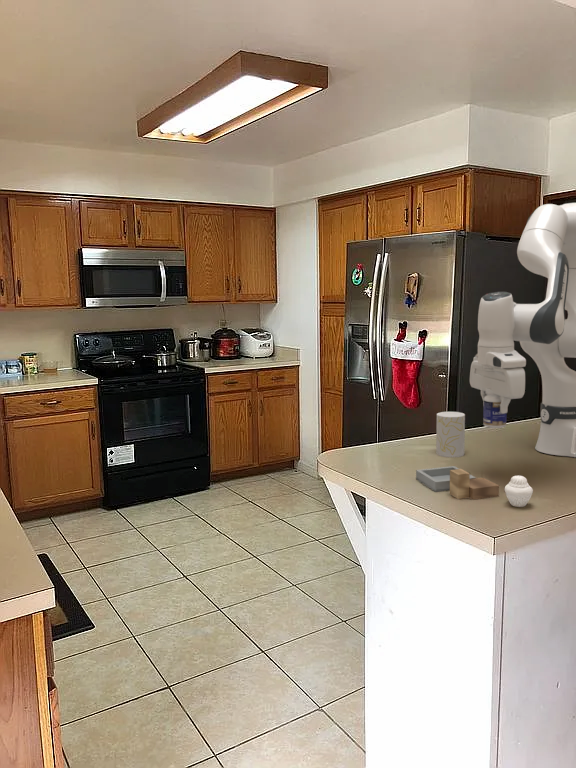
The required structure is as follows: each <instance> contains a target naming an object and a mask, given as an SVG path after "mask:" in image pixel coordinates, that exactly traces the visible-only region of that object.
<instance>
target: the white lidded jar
mask: <svg viewBox="0 0 576 768" xmlns="http://www.w3.org/2000/svg"><path fill="white" fill-rule="evenodd" d="M504 492H505V496H506V498H507V499H508V502H509V504H510V505H511V506H512V507H516V508H517V507H518V508H523V507H526V506H527V504H528V502H529V501H530V499H531V497H532V495H533V492H534V489H533V487H531V486H530V485H529V483H528V479H527V478H526V477H525V476H523V475H520V474H519V475H514V476H512V477H511V478H510V481H509V482H508V483H507V484H506V485H505V487H504Z"/></svg>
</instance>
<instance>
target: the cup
mask: <svg viewBox="0 0 576 768" xmlns="http://www.w3.org/2000/svg"><path fill="white" fill-rule="evenodd" d="M465 423H466V414H465V413H463V412H460V411H441V412H438V413H436V439H435V440H436V445H435V446H436V449H435V450H436V452H435V453H436V455H437V456H439V457H443V458H460V457H463V456H465V444H466V443H465V437H466V436H465V435H466V431H465V427H466V424H465Z"/></svg>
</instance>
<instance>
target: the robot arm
mask: <svg viewBox="0 0 576 768" xmlns="http://www.w3.org/2000/svg"><path fill="white" fill-rule="evenodd" d="M516 254H517V260H518V261H519V262H520V264H521V265H522V267H524V268H525V269H526V270H527V271H529V272H531V273H533V274H536V275H539V276H541V277H545V278H547V286H546V293H545V299H544V300H543V301H542V302H540V303H517V302H515V301H514V297H513V295H512V293H511V292H507V291H495V292H494V291H493V292H489V293H486V294H484V295H482V297H481V298H480V301H479V305H478V311H477V312H478V314H477V331H478V335H479V337H478V342H477V353H476V354H475V355H474V357H473V360H472V362H471V364H470V370H469V371H470V372H469V384H470V387H471V388H474V389H476V390H480V396H481V399H482V401H483V403H482V404H483V405H482V406H483V407H484V397H485V396H487V393H486V388H488V389H492V392H493V394H496V395H499V396H500V400H502V401H501V404H500V406H498V412H500V413H507V414H508V407H509V404H510V403H511V400H516V399H522V398H523V397H524V395H525V393H526V391H525V390H526V371H525V369H524V367H526V365H527V359H526V358H525V357H524V356H523V355H521V354H520V353H519V352H518V351H517V350H515V342H519V344H520V347H521V348H522V350H523V352H525V353H526V354H527V355H528V356H530V357H531V358H532V360H533V361H534V363H535V364H536V366H537V368H538V370H539V372H540V375H541V376H540V377H541V385H542V390H541V391H542V401H541V402H540V411H539V414H540V425H539V426H540V427H539V428H540V429H539V433H538V437H537V442H536V443H535V447H534V449H535V450H536V451H537V452H540V453H544V454H547V455H552V456H553V455H555V456H562V457H571V458H576V371H575V370H573V369H571V368H570V367H569V366H568V365H567V364H566V361H565V358H574V359H575V358H576V202H568V203H563V204H560V205H557V204H553V203H546V204H541V205H540V206H538V207H537V208H536V209H535V210H534V211H533V212H532V213H531V214H530V215H529V216H528V219H527V221H526V225H525V227H524V229H523V231H522V234H521V237H520V240H519V241H518V245H517V249H516ZM566 311H567V318H566V317H565V316H566V313H565V312H566ZM514 341H515V342H514Z"/></svg>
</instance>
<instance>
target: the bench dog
mask: <svg viewBox="0 0 576 768" xmlns="http://www.w3.org/2000/svg"><path fill="white" fill-rule="evenodd" d="M470 475H471V474H470V472H467V471H466V470H464V469H463V468H459V469H455V470H450V490H449V495H450V496H452V497H453V498H455V499H457V500H461V499H470V498H469V483H470Z"/></svg>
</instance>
